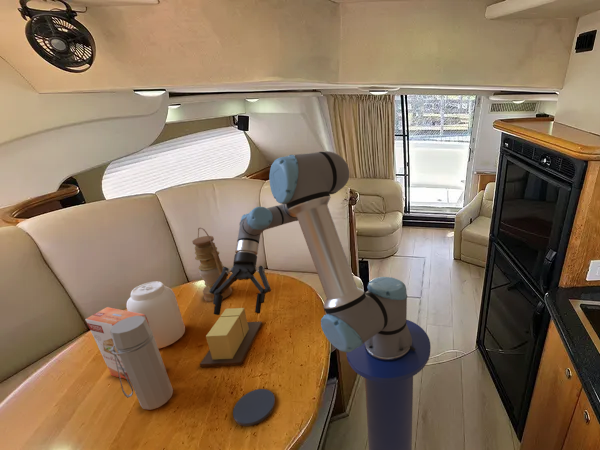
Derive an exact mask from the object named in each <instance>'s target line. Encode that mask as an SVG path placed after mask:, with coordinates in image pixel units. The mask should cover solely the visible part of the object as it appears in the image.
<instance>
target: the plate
mask: <svg viewBox="0 0 600 450" xmlns="http://www.w3.org/2000/svg"><path fill="white" fill-rule="evenodd" d="M275 406H276V398H275V395H274V393H273V391H271V390H269V389H266V388H257V389H254V390H251V391H249V392H247V393H245V394H244V395H242V397H240V398H239V399H238V400H237V401H236V403H235V405H234V407H233V410H232V416H233V417H232V418H233V420H234V422H235V423H236V424H237V425H238V426H242V427H251V426H254V425H255V426H256V425H257V424H260V423H261V422H263V421H265V420H266V419H267V418H268V417H269V416H270V415H271V413H272V412H273V410H274V408H275Z"/></svg>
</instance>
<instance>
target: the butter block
mask: <svg viewBox="0 0 600 450" xmlns="http://www.w3.org/2000/svg"><path fill="white" fill-rule="evenodd" d="M205 338H206V342H207V345H208V349H209V350H210V353H211V356H212V360H215V359H233V357H234V355H235V353H236V352H237V350H238V348H239V346H240V344H241V343H242V341H243V339H244V336H243V332H242V327H241V323H240V319H239V316H231V317H221V316H220V317H218V319H217V320H216V322H215V323H214V324H213V325H212V327H211V328H210V330H209V331H208V332H207V334H206V335H205Z"/></svg>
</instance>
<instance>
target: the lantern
mask: <svg viewBox="0 0 600 450" xmlns="http://www.w3.org/2000/svg"><path fill="white" fill-rule="evenodd" d="M200 230H202V231H203V232H205V234H206V235H203V236H200ZM214 240H215V238H214V236H212V235H209V234H208V232H207V231H206V229H204V228H203V227H198V228H197V238H194V239H193V240H192V241H191V242H192V245H195V246H194V251H195V252H194V254H195V257H194V259H195V260H196V261H199V262H200V264H199V265H198V268H197V269H198V274H199V276H200V277H201V279H202V281H204V285H205V286H204V287H203V290H202V294H203V299H204V301H206V302H209V303H211V302H212V303H213V301H214V294H212V293H210V292H209V290H210V289H211V288H212V286H213V285H214V283H215V282H216V280H217V279H218V278H219V276H220V275H221V273H222V271H223V268H224V267H225V265H224V264H223V262H222V261H221V259H220V251H218V247H216V244H215V242H214ZM227 279H229V276H227V278H226V279H225V281H226V280H227ZM225 281H224V282H225ZM224 282H223V283H224ZM232 293H233V289H232V287H231V285H230V286H229V287H228V288H227V289H226V290H225V291H224V292H223V293H222V294H221V295H222V296H223V299H222V300H225V299H226V298H228V297H229V296H231V294H232Z"/></svg>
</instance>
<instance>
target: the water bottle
mask: <svg viewBox="0 0 600 450" xmlns="http://www.w3.org/2000/svg"><path fill="white" fill-rule="evenodd" d="M110 332H111V336H112V340H113V343H114V346H113V347H112V348H110V351H111V352H112V353H113V355H114V356H116V355H117V354H119V356H120V358H121V361H122V363H123V365H124V368H125V370H126V372H127V375H128V377H129V379H130V380H128V378H127V376H126V374H125V372H124V370H123V368H122V366H121V364H120V362H119V360H118V358H117V356H116V357H115V361H116V358H117V360H118V363H119V365H120V367H121V369H122V371H123V373H124V375H125V377H126V379H125V380H126V382H127V384H128V386H129V388H130V390H131V393H129V394H128V393H127V392H126V391H125V390H124V387H123V383H122V378H120V374H119V370H118V365H117V361H116V365H117V370H118V374H119V377H118V379H119V383H120V387H121V392H122V393H123V395H124V397H126V398H127V399H128V398H131V397H133V394H135V396H136V398H137V400H138V403H139V405H140V407H141V408H142V409H143V410H151V411H152V410H155V409H158V408H161V407H162V406H163V405H166V403H168V402H169V400H170V399H171V398H172V396H173V393H174V388H173V386H172V384H171V379H170V378H169V375H168V373H167V368H166V366H164V365H165V363H164V360H163V358H161V357H162V355H161V352H160V349H159V350H158V347H157V344H156V342H155V339H154V336H153V333H152V330H151V329H150V327H149V325H148V324H147V322H146V320H145V318H144V317H143V316H133V317H128V318H126V319H123V320H121V321H119V322H117V323H116V324H114V325H113V326H112V328H111V329H110ZM114 347H116V349H117V351H118V353H116V351H115V349H114ZM159 352H160V353H159ZM162 360H163V361H162ZM163 363H164V364H163ZM165 368H166V369H165Z"/></svg>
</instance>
